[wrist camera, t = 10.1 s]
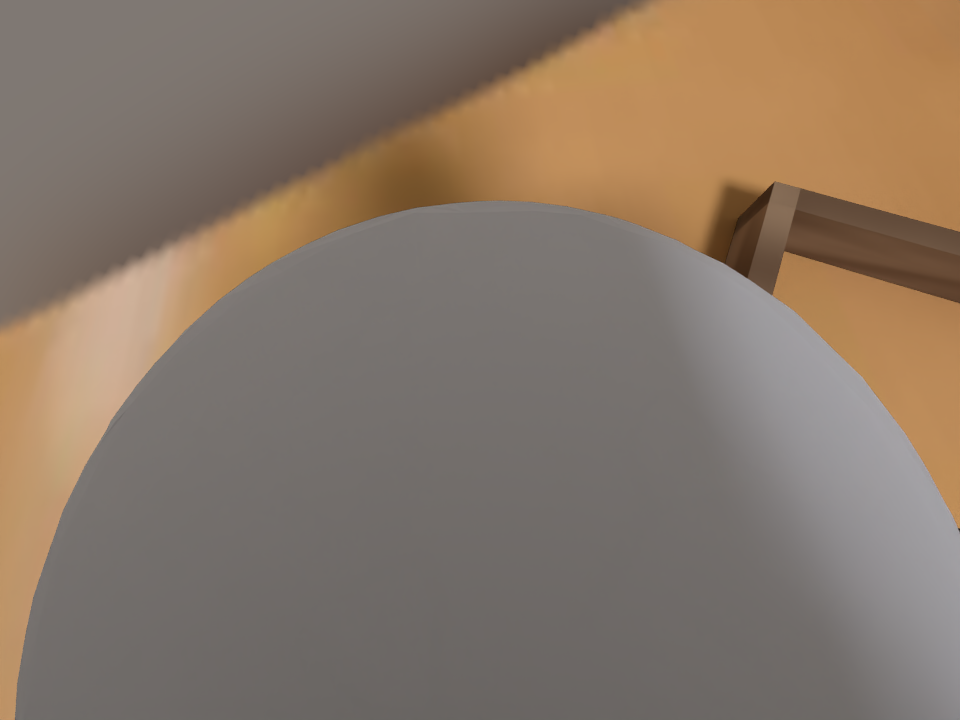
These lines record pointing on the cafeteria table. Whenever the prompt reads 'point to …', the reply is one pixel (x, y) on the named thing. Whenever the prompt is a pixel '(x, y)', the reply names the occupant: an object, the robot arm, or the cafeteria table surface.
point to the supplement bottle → (499, 499)
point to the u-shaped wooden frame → (843, 241)
